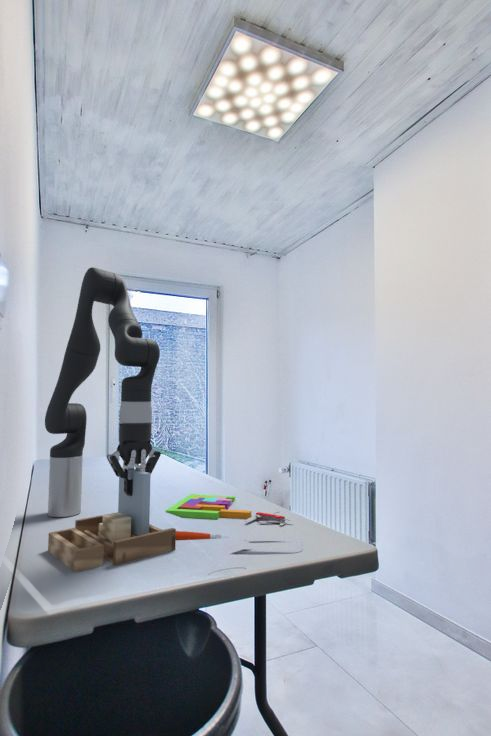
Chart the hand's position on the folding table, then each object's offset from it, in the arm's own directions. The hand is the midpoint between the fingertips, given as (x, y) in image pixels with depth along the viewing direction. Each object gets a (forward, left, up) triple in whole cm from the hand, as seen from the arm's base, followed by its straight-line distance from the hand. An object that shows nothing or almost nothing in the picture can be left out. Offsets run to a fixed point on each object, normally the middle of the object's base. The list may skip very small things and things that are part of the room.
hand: (133, 494), depth 101 cm
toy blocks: (-15, +37, -13) cm, 42 cm away
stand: (+1, -14, -12) cm, 18 cm away
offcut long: (0, -4, -11) cm, 12 cm away
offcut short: (+1, -4, -6) cm, 8 cm away
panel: (0, 0, -8) cm, 8 cm away
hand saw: (+16, +18, -13) cm, 27 cm away
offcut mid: (0, -4, -9) cm, 10 cm away
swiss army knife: (+7, +40, -12) cm, 42 cm away
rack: (0, -2, -12) cm, 12 cm away
